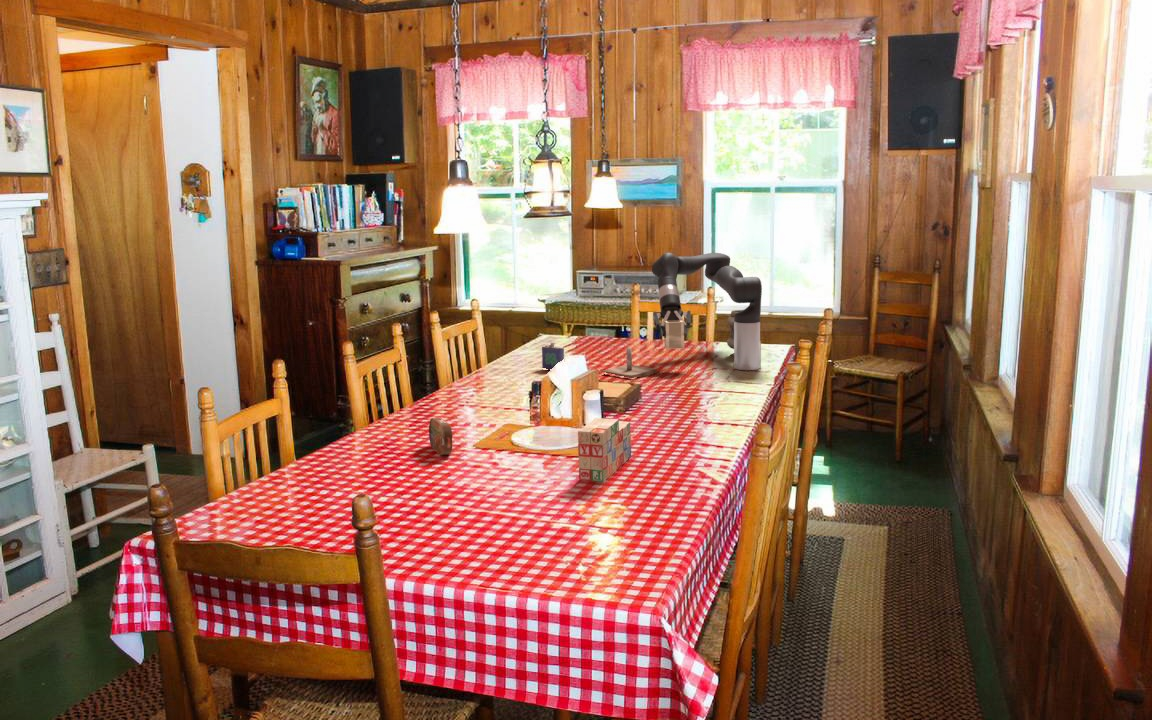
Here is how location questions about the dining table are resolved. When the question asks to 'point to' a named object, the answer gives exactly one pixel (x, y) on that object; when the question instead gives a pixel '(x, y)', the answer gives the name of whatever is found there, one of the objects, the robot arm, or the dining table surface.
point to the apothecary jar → (731, 330)
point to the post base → (628, 373)
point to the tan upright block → (674, 334)
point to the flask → (551, 355)
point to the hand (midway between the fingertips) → (674, 336)
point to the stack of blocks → (603, 448)
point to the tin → (440, 436)
